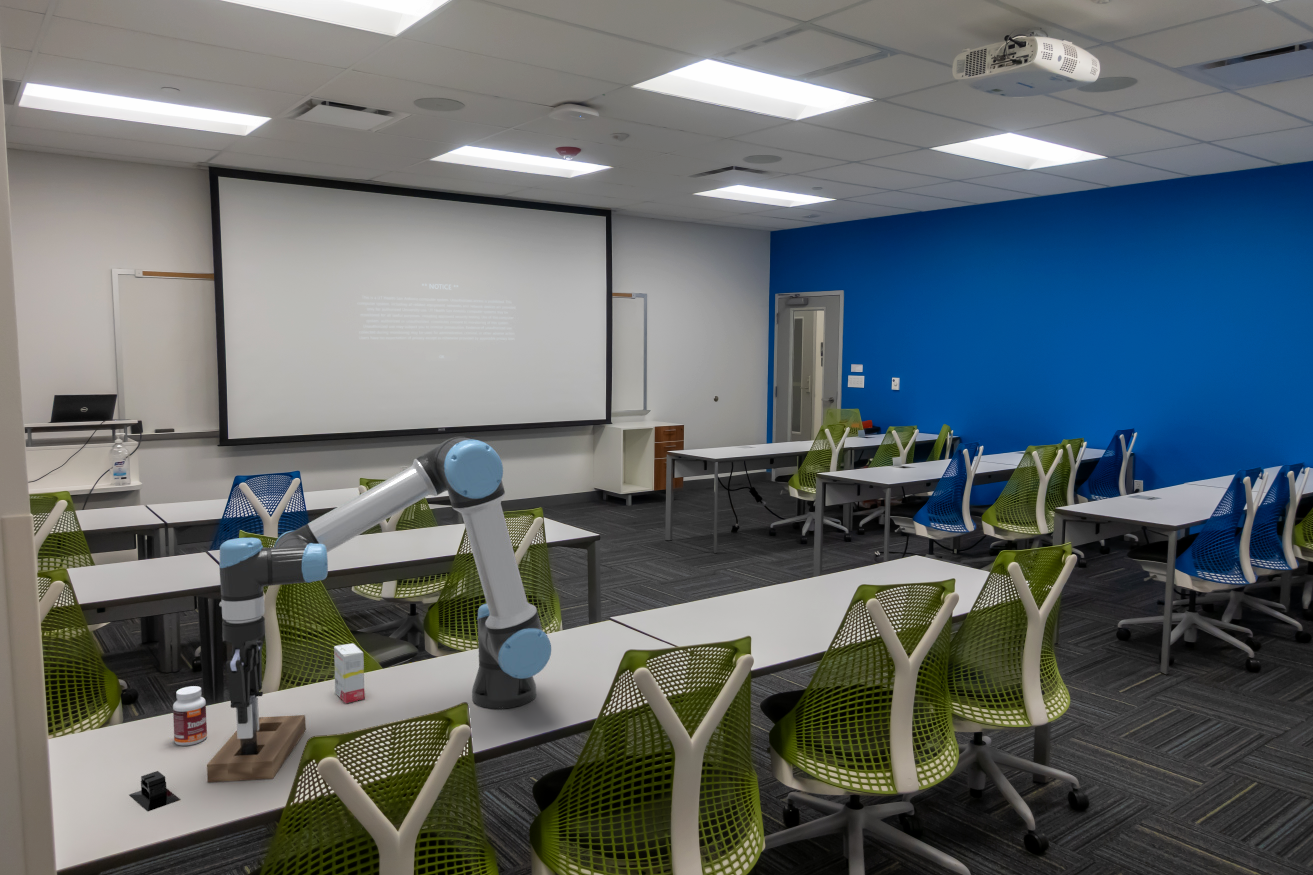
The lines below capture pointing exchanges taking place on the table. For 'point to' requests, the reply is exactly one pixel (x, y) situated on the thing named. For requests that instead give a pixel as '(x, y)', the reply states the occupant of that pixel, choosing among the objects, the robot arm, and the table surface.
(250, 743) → the pin
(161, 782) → the black stepped mount
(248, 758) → the socket block
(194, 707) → the pill bottle
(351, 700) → the ink box
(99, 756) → the table surface
